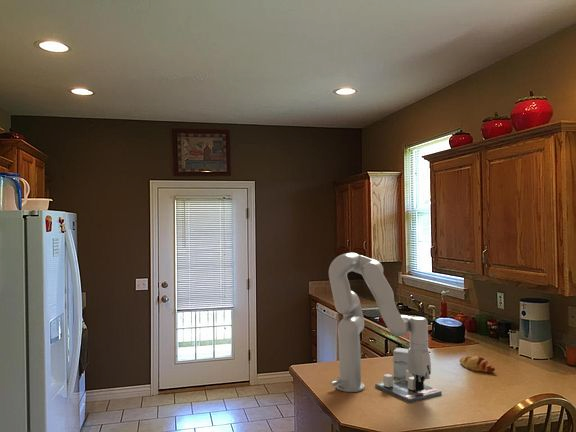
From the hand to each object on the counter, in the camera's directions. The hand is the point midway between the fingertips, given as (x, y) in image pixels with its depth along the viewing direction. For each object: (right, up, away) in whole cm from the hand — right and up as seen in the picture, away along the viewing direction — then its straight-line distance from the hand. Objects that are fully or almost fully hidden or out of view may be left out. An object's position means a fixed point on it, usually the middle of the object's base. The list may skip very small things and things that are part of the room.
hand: (419, 390), depth 201 cm
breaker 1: (-12, -1, +8) cm, 14 cm away
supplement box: (-1, -3, +26) cm, 26 cm away
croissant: (+39, -3, +37) cm, 54 cm away
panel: (-4, -3, +6) cm, 8 cm away
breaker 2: (0, -1, +14) cm, 14 cm away
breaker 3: (-2, -1, +4) cm, 4 cm away
